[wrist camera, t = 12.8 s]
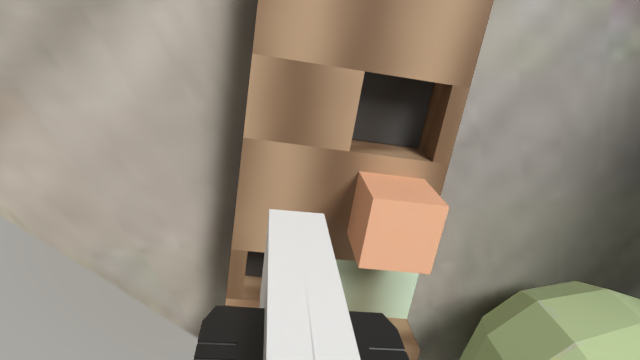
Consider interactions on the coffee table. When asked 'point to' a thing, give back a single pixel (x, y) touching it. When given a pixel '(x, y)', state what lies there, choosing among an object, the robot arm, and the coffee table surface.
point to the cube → (395, 223)
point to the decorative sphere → (559, 326)
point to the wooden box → (348, 124)
